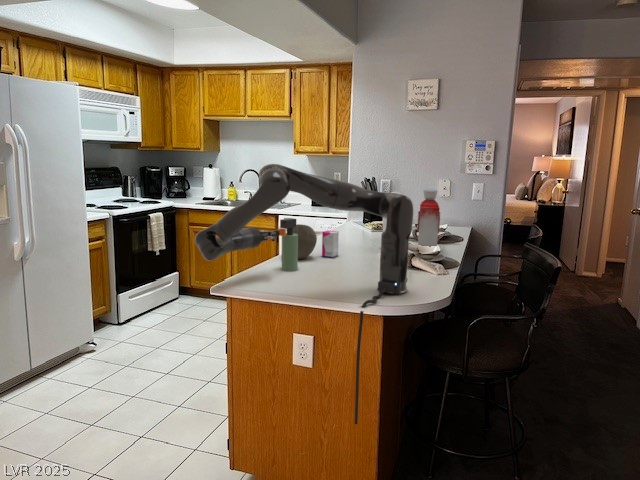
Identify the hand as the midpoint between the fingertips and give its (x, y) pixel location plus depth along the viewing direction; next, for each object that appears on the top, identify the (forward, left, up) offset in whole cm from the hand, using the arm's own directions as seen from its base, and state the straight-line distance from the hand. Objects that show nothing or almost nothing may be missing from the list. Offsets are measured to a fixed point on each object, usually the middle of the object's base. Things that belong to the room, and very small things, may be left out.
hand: (278, 232), depth 186 cm
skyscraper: (+64, -32, -16) cm, 73 cm away
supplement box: (+36, -10, -16) cm, 40 cm away
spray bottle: (+7, -2, -16) cm, 17 cm away
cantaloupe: (+27, +1, -16) cm, 31 cm away
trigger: (+2, -1, -1) cm, 3 cm away
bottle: (+64, -50, -16) cm, 83 cm away
